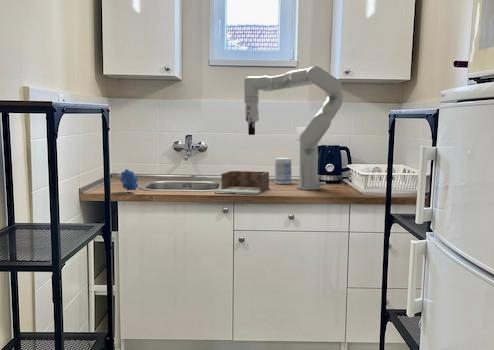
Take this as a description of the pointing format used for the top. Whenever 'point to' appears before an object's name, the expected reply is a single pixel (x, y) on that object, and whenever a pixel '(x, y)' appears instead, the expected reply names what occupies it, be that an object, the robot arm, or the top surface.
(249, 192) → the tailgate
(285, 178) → the supplement tub
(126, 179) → the grapes
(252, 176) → the crate
